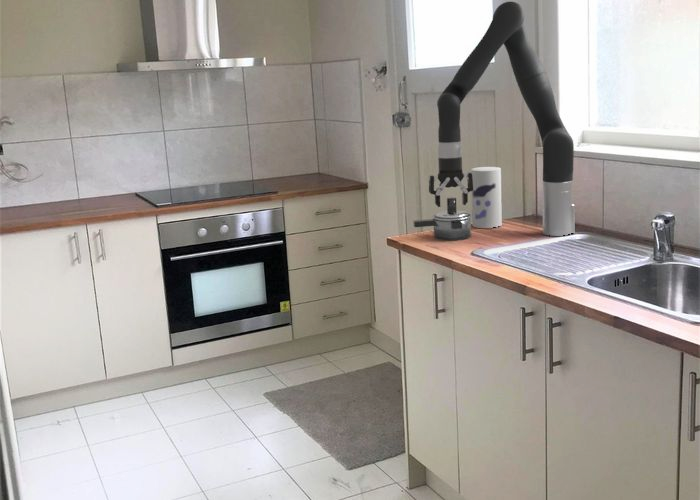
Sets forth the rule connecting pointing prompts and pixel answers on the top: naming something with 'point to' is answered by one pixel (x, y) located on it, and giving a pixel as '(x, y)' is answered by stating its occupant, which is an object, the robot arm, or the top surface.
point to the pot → (448, 227)
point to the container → (486, 197)
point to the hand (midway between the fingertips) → (451, 205)
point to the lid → (451, 211)
